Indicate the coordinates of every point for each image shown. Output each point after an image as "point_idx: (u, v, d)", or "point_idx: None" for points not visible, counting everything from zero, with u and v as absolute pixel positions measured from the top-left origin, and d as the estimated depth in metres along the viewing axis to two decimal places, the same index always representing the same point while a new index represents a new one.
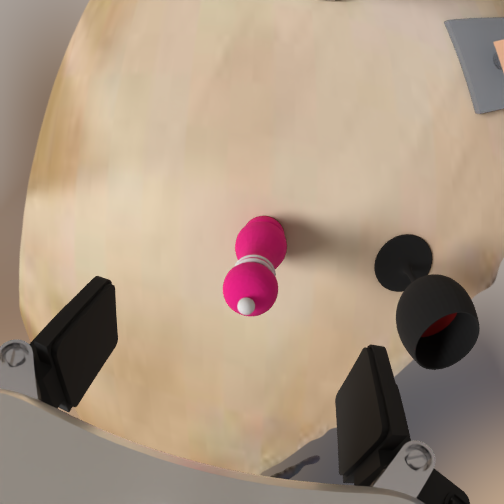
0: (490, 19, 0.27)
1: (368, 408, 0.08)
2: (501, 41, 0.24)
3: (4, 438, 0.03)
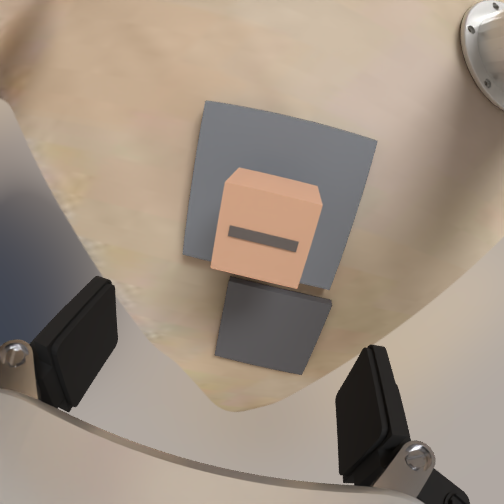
0: (345, 235, 0.28)
1: (368, 408, 0.08)
2: (316, 192, 0.21)
3: (4, 438, 0.03)
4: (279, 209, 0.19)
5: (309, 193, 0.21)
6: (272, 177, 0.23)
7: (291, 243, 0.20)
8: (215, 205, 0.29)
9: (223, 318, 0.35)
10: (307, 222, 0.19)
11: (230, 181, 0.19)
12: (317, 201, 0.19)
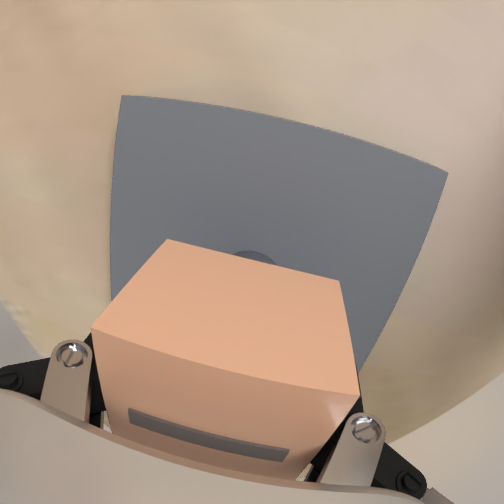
0: (374, 333, 0.16)
1: None
2: (340, 317, 0.09)
3: (4, 438, 0.03)
4: (240, 401, 0.07)
5: (323, 330, 0.08)
6: (236, 269, 0.10)
7: (272, 453, 0.07)
8: None
9: None
10: (313, 424, 0.07)
11: (108, 320, 0.07)
12: (345, 373, 0.07)
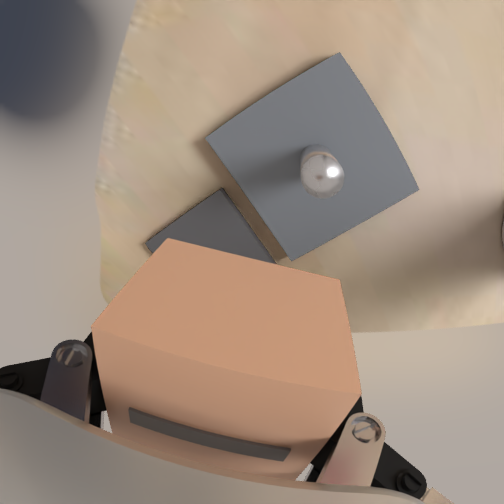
0: (340, 230, 0.31)
1: None
2: (341, 316, 0.09)
3: (4, 438, 0.03)
4: (241, 400, 0.06)
5: (324, 329, 0.08)
6: (237, 268, 0.10)
7: (273, 452, 0.07)
8: (271, 125, 0.27)
9: (184, 217, 0.33)
10: (315, 423, 0.07)
11: (109, 319, 0.07)
12: (347, 372, 0.07)
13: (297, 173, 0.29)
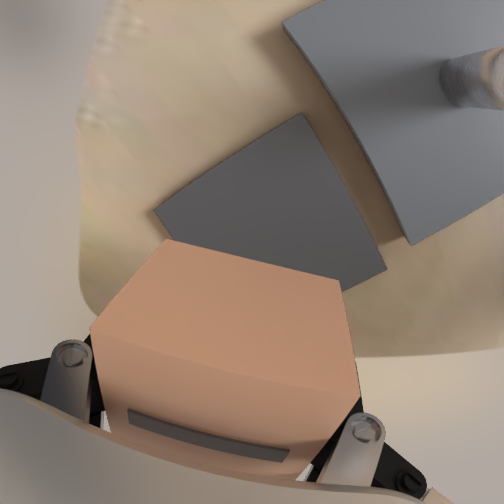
0: (484, 199, 0.16)
1: None
2: (340, 317, 0.09)
3: (4, 438, 0.03)
4: (240, 401, 0.06)
5: (323, 330, 0.08)
6: (236, 269, 0.10)
7: (272, 453, 0.07)
8: (394, 16, 0.12)
9: (230, 161, 0.18)
10: (314, 424, 0.07)
11: (107, 320, 0.07)
12: (346, 374, 0.07)
13: (434, 97, 0.14)
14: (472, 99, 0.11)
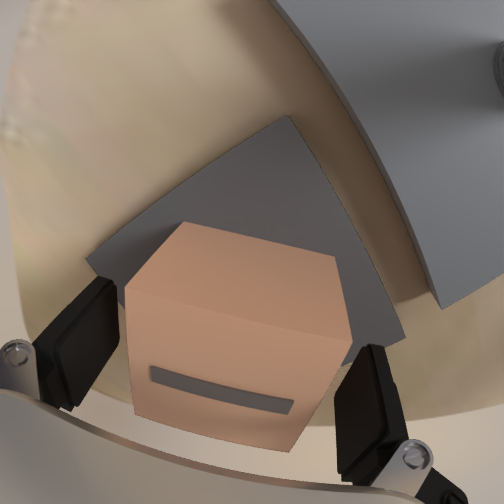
0: None
1: (366, 407, 0.08)
2: (335, 284, 0.10)
3: (4, 438, 0.03)
4: (251, 349, 0.08)
5: (321, 292, 0.10)
6: (245, 245, 0.11)
7: (279, 404, 0.09)
8: None
9: (178, 192, 0.12)
10: (314, 372, 0.08)
11: (139, 282, 0.08)
12: (340, 325, 0.08)
13: (488, 96, 0.08)
14: None
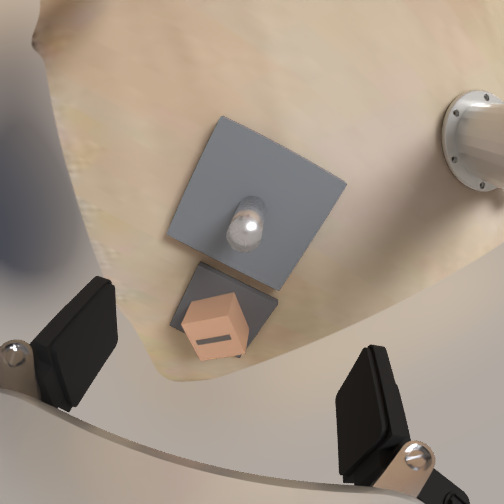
0: (301, 250, 0.36)
1: (368, 408, 0.08)
2: (229, 302, 0.38)
3: (4, 438, 0.03)
4: (211, 325, 0.36)
5: (224, 306, 0.37)
6: (208, 301, 0.40)
7: (226, 337, 0.36)
8: (205, 201, 0.35)
9: (185, 295, 0.41)
10: (227, 325, 0.36)
11: (183, 322, 0.37)
12: (226, 312, 0.36)
13: None
14: None
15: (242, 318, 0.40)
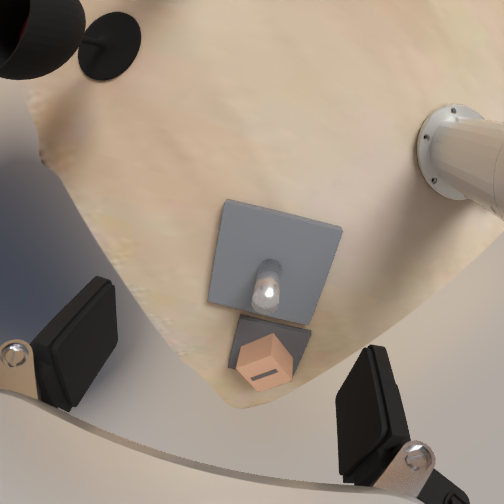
0: (319, 291, 0.43)
1: (368, 408, 0.08)
2: (271, 342, 0.45)
3: (4, 438, 0.03)
4: (259, 365, 0.44)
5: (267, 347, 0.45)
6: (254, 344, 0.47)
7: (274, 371, 0.44)
8: (231, 271, 0.43)
9: (235, 342, 0.49)
10: (271, 362, 0.43)
11: (237, 366, 0.45)
12: (269, 353, 0.43)
13: None
14: None
15: (284, 351, 0.47)
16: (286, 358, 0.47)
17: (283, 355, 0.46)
